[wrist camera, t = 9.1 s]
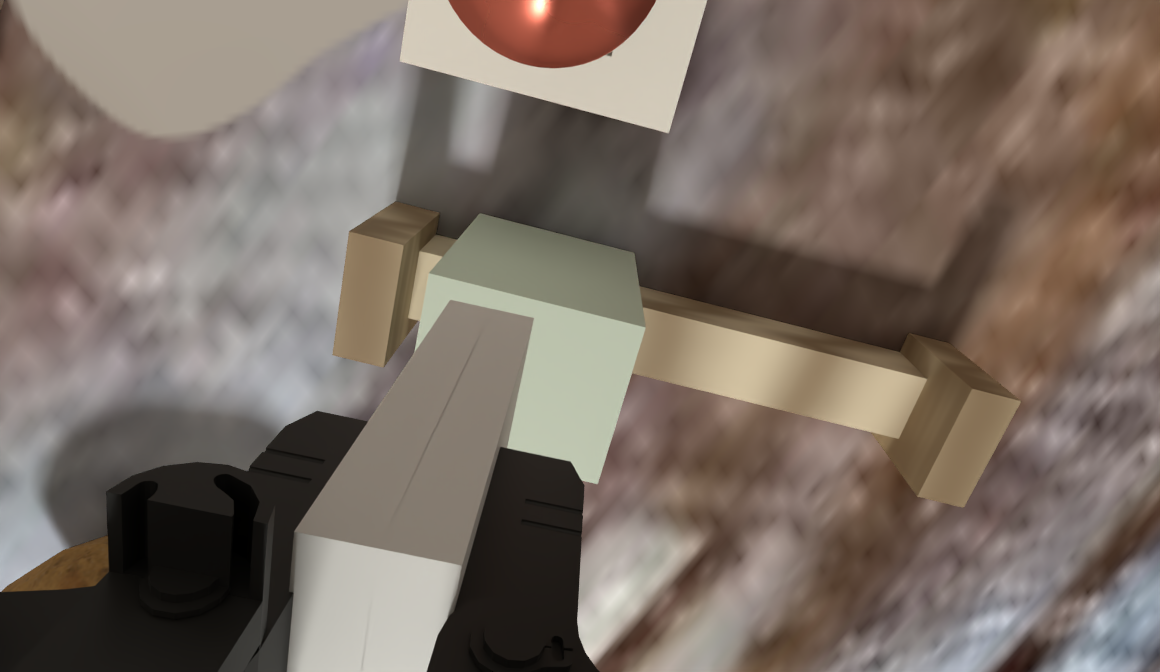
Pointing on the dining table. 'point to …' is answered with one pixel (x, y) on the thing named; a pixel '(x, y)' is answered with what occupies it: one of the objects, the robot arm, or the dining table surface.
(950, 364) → the rail
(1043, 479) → the dining table surface
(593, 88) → the white tall block
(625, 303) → the block
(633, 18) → the button
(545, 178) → the dining table surface
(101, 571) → the potato
